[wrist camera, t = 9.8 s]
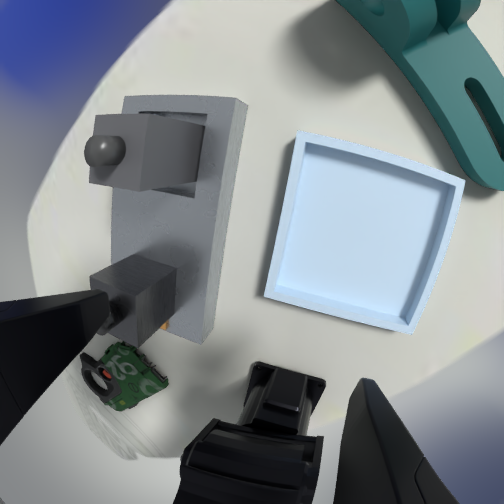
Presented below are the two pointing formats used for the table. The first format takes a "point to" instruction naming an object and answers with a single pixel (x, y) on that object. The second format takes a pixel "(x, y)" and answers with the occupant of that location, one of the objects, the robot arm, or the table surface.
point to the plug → (143, 151)
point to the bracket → (445, 74)
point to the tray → (361, 232)
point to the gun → (122, 377)
